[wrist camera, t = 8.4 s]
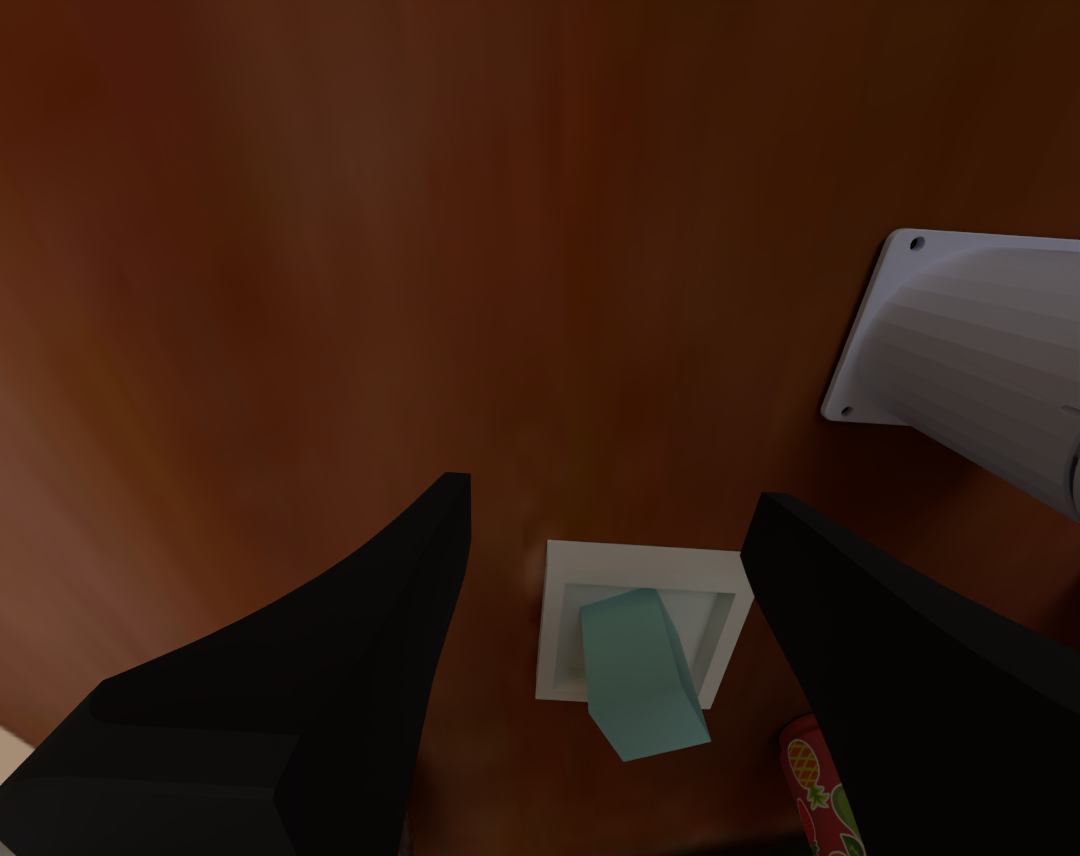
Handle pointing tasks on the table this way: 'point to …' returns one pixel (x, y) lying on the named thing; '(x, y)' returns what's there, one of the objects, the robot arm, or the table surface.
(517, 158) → the table surface
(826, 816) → the smoothie
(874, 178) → the table surface
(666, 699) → the block
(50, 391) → the table surface
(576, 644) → the tray
